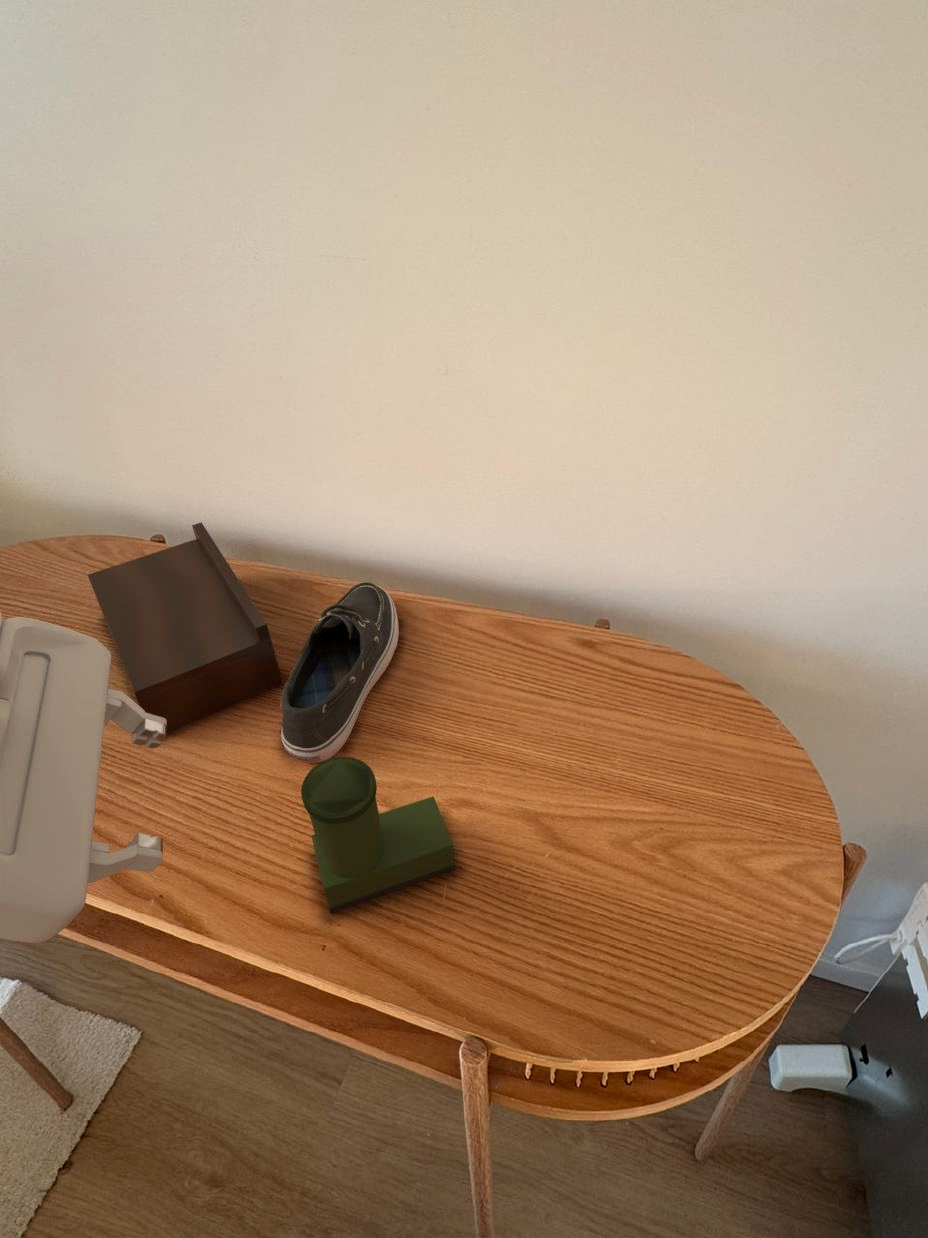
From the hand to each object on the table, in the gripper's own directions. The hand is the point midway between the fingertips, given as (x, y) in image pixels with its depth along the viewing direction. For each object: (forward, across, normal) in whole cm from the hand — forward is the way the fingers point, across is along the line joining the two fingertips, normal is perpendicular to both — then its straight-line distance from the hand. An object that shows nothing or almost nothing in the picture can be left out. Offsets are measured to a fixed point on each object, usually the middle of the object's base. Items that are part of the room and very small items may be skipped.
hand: (161, 790), depth 49 cm
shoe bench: (+12, +33, +17) cm, 39 cm away
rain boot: (+23, 0, +4) cm, 23 cm away
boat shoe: (+23, +24, +5) cm, 34 cm away
